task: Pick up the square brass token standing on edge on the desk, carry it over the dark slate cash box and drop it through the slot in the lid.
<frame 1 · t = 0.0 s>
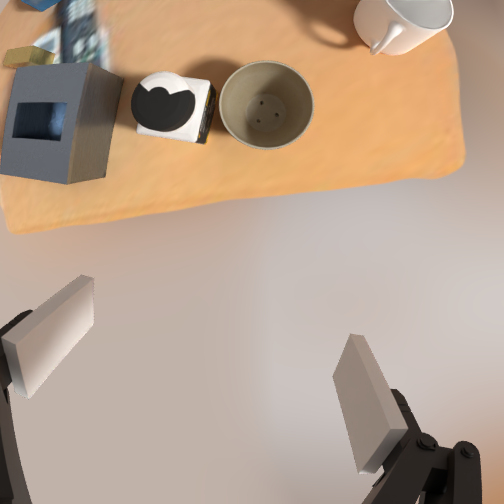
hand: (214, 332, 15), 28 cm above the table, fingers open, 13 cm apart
token: (39, 62, 36), on the table
mug: (382, 34, 34), on the table
flower pot: (266, 112, 38), on the table
medicine bottle: (186, 114, 39), on the table
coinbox: (78, 124, 39), on the table
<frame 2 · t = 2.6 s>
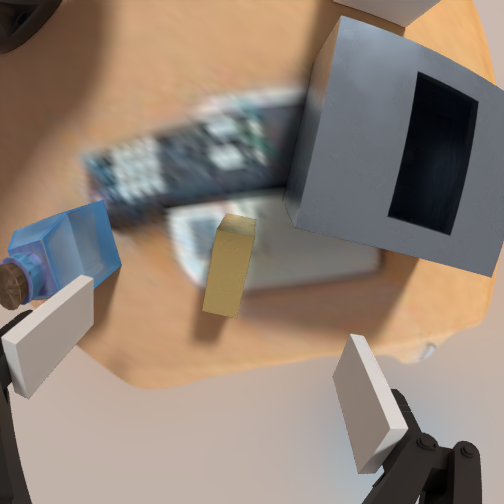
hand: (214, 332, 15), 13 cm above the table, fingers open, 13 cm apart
token: (234, 250, 28), on the table
perfume bottle: (86, 238, 28), on the table
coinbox: (379, 151, 25), on the table
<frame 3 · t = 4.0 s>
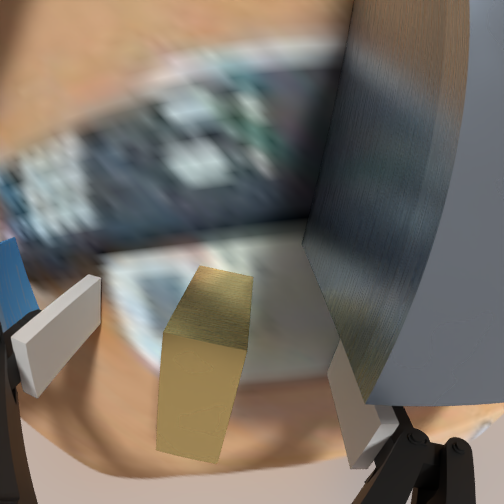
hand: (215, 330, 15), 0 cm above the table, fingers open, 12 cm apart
token: (215, 326, 16), on the table
perfume bottle: (3, 291, 16), on the table
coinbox: (463, 159, 13), on the table
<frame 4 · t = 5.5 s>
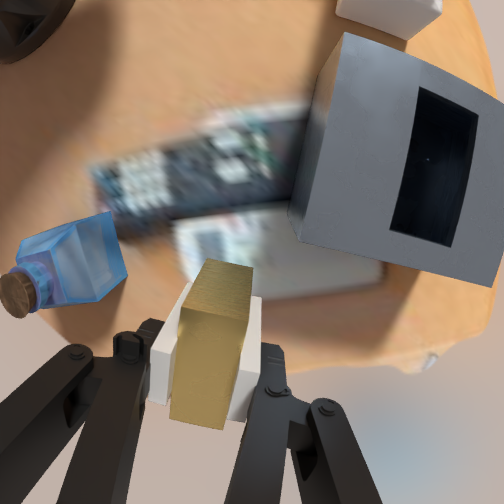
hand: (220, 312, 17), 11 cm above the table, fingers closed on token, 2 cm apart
token: (220, 312, 18), point 10 cm above the table, touching gripper
perfume bottle: (93, 249, 29), on the table
medicine bottle: (375, 1, 21), on the table
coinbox: (381, 165, 25), on the table
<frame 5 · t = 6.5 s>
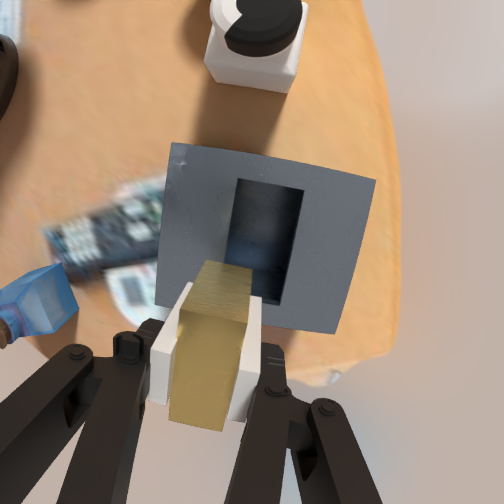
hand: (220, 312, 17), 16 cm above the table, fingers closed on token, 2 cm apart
token: (219, 313, 18), point 15 cm above the table, touching gripper
perfume bottle: (53, 289, 35), on the table
medicine bottle: (258, 56, 27), on the table
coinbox: (260, 217, 32), on the table
when the fingers open (11 cm above the table, at t = 7.9 s): token drops 10 cm, resting on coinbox.
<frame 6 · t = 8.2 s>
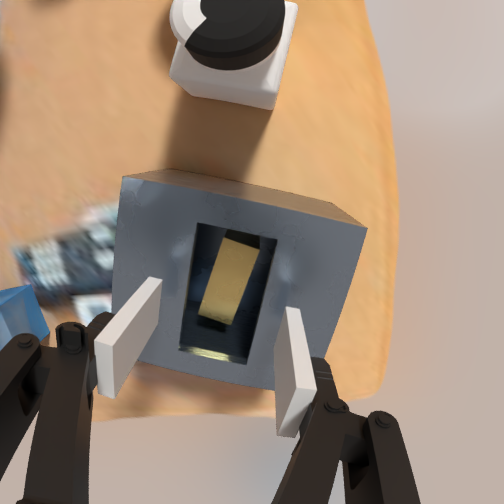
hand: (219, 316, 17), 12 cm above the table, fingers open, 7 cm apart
token: (234, 257, 28), point 1 cm above the table, touching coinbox
perfume bottle: (25, 310, 32), on the table
medicine bottle: (240, 65, 24), on the table
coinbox: (236, 251, 28), on the table
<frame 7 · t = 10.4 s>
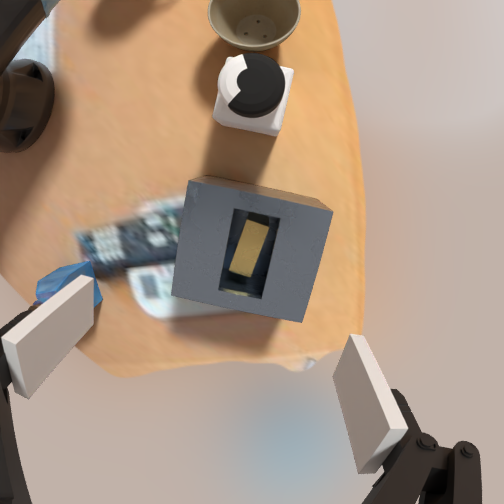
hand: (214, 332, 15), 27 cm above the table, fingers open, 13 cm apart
token: (251, 236, 41), point 1 cm above the table, touching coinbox
flower pot: (255, 31, 34), on the table
perfume bottle: (81, 282, 45), on the table
medicine bottle: (255, 104, 37), on the table
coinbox: (252, 232, 41), on the table
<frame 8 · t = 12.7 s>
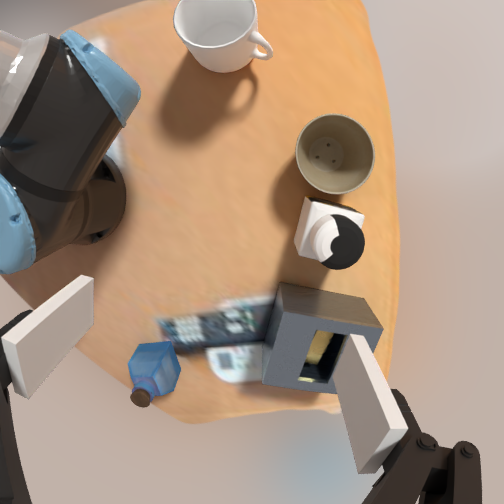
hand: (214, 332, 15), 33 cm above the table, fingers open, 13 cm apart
token: (312, 327, 51), point 1 cm above the table, touching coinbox
mug: (234, 47, 40), on the table
flower pot: (325, 154, 44), on the table
perfume bottle: (160, 356, 55), on the table
medicine bottle: (322, 223, 47), on the table
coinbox: (312, 323, 51), on the table
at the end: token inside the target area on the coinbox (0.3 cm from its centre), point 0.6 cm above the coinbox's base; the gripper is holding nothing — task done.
